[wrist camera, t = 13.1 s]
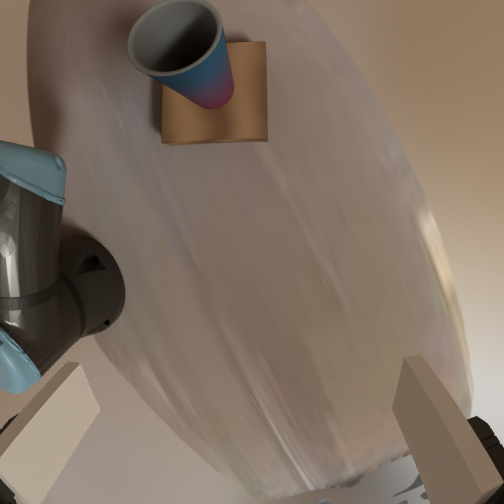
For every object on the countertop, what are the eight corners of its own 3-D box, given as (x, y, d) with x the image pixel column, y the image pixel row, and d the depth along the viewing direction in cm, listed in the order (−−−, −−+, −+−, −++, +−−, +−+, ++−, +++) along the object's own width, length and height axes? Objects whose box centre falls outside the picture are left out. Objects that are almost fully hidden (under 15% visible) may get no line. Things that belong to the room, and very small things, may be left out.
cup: (223, 126, 31) (187, 90, 17) (172, 102, 31) (109, 60, 16) (253, 76, 30) (241, 11, 15) (202, 54, 29) (160, -12, 15)
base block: (172, 145, 36) (161, 142, 32) (174, 60, 33) (164, 50, 29) (267, 141, 35) (267, 137, 31) (266, 53, 32) (265, 41, 28)
